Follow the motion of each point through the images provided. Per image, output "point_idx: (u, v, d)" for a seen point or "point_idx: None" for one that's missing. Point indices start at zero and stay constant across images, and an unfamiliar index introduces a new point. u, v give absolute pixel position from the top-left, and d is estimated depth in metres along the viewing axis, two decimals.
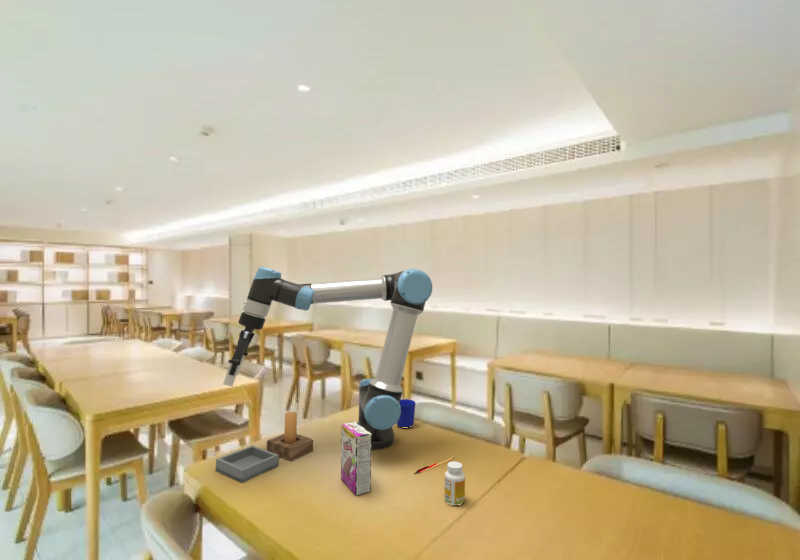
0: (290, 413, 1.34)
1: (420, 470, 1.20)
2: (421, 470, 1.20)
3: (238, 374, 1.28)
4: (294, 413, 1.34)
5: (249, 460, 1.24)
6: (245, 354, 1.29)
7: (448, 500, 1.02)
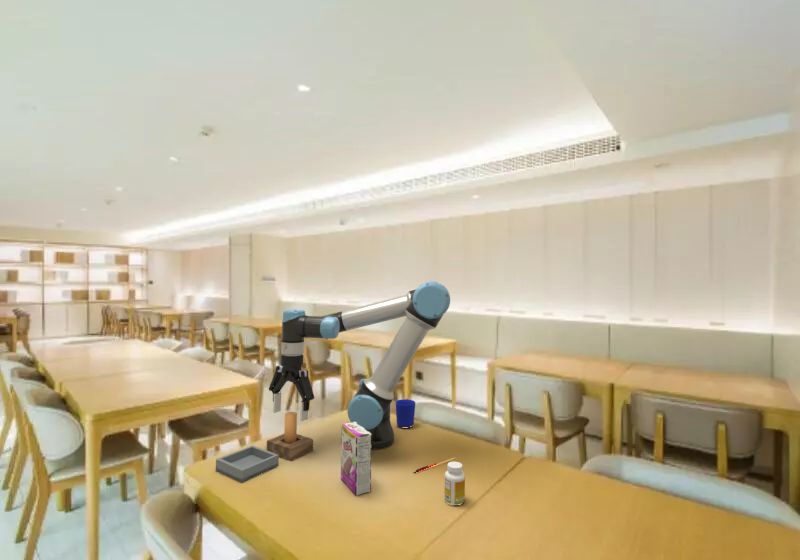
0: (290, 413, 1.34)
1: (419, 470, 1.20)
2: (420, 470, 1.20)
3: None
4: (294, 413, 1.34)
5: (249, 460, 1.24)
6: None
7: (448, 500, 1.02)
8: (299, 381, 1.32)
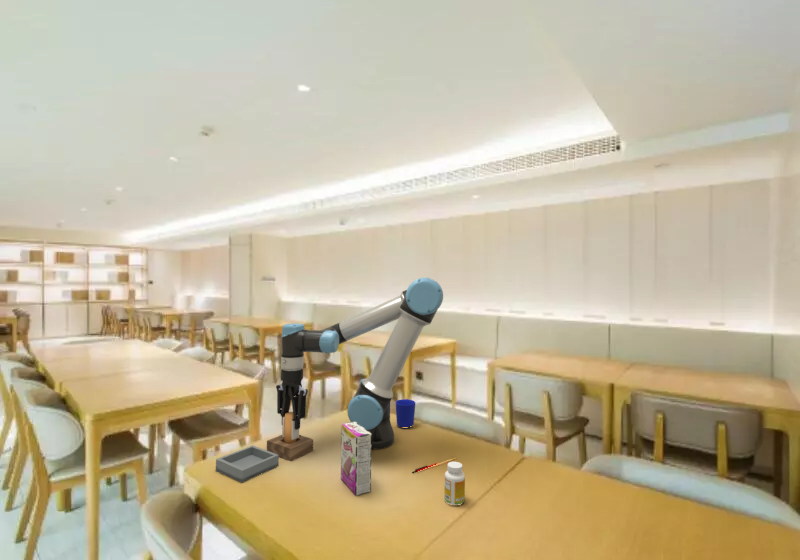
0: (290, 413, 1.34)
1: (419, 469, 1.21)
2: (420, 469, 1.21)
3: None
4: None
5: (249, 460, 1.24)
6: None
7: (448, 500, 1.02)
8: (296, 398, 1.32)
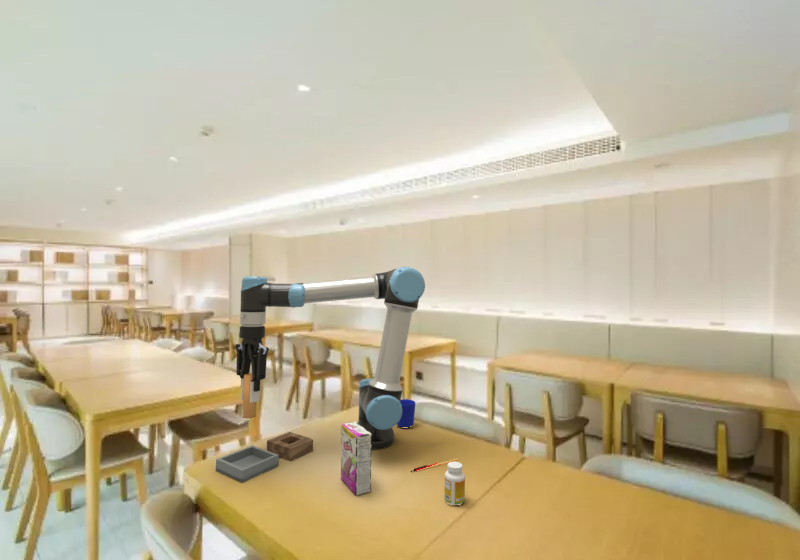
0: (249, 374, 1.22)
1: (417, 469, 1.21)
2: (418, 469, 1.21)
3: None
4: None
5: (249, 460, 1.24)
6: None
7: (448, 500, 1.02)
8: (256, 357, 1.20)
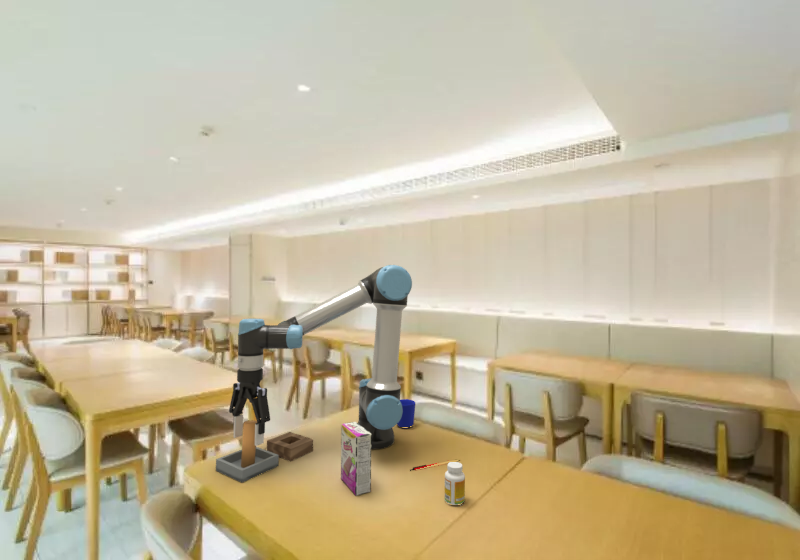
0: (249, 422, 1.21)
1: (416, 468, 1.22)
2: (417, 468, 1.22)
3: None
4: (254, 422, 1.21)
5: None
6: None
7: (448, 500, 1.02)
8: (256, 399, 1.19)
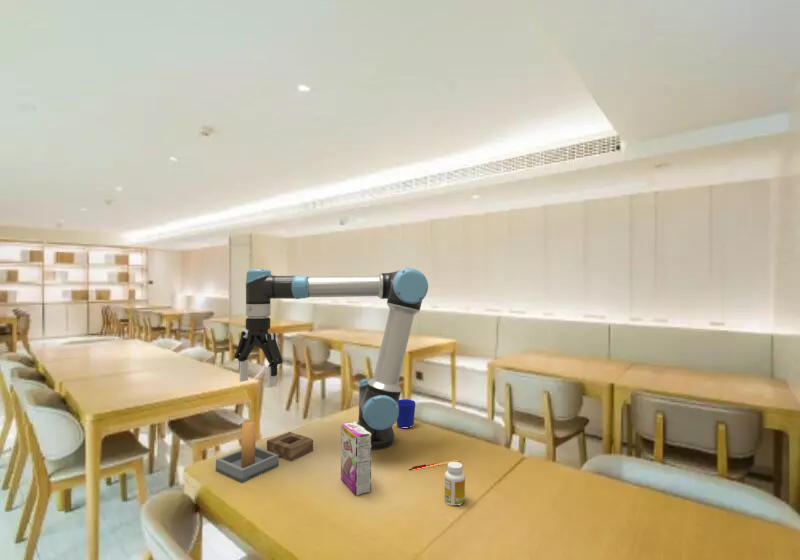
0: (248, 422, 1.21)
1: (416, 467, 1.22)
2: (417, 467, 1.22)
3: None
4: (253, 422, 1.21)
5: None
6: None
7: (448, 500, 1.02)
8: (266, 345, 1.22)
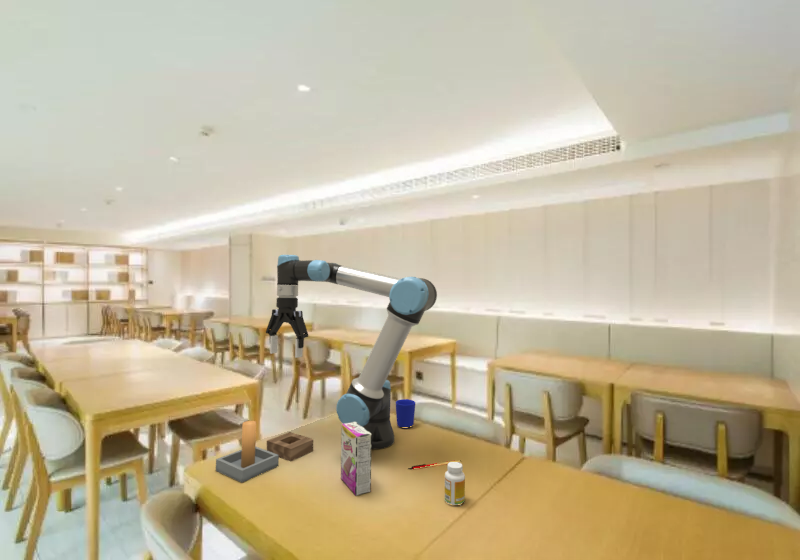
0: (248, 422, 1.21)
1: (415, 467, 1.22)
2: (416, 467, 1.22)
3: (276, 351, 1.47)
4: (253, 422, 1.21)
5: None
6: None
7: (448, 500, 1.02)
8: (294, 321, 1.40)
